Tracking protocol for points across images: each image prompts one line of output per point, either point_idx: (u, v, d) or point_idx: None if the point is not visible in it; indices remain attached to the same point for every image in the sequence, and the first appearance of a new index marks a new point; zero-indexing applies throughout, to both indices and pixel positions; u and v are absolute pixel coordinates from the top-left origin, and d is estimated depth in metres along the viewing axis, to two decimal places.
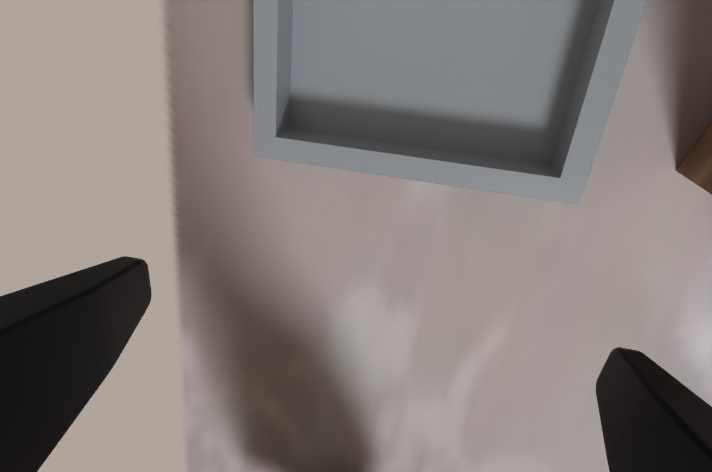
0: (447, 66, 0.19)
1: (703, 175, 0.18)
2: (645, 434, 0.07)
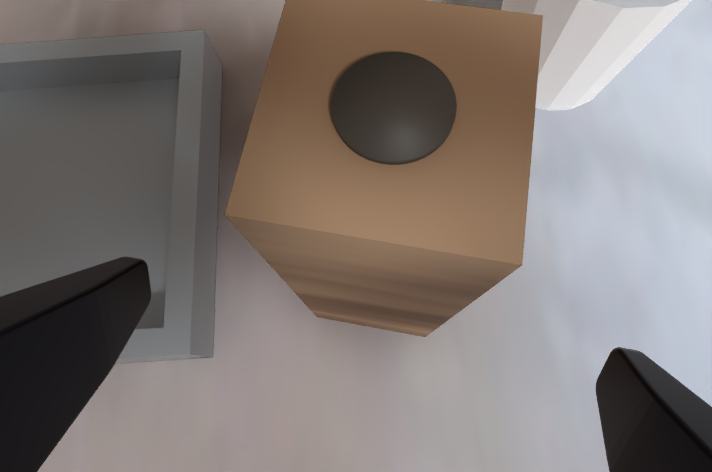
0: (67, 255, 0.19)
1: None
2: (645, 434, 0.07)
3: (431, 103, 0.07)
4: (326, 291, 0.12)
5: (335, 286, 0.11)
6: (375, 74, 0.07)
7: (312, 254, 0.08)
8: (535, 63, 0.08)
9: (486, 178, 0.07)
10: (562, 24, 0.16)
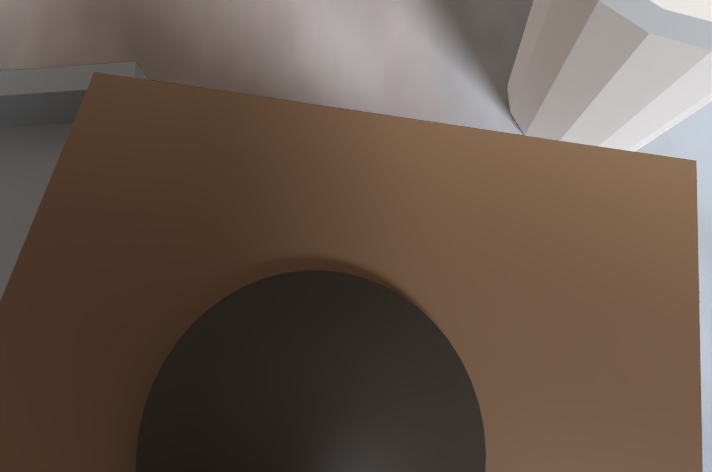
0: None
1: None
2: None
3: (414, 442, 0.03)
4: None
5: None
6: (264, 342, 0.03)
7: None
8: (691, 303, 0.03)
9: None
10: (614, 67, 0.12)
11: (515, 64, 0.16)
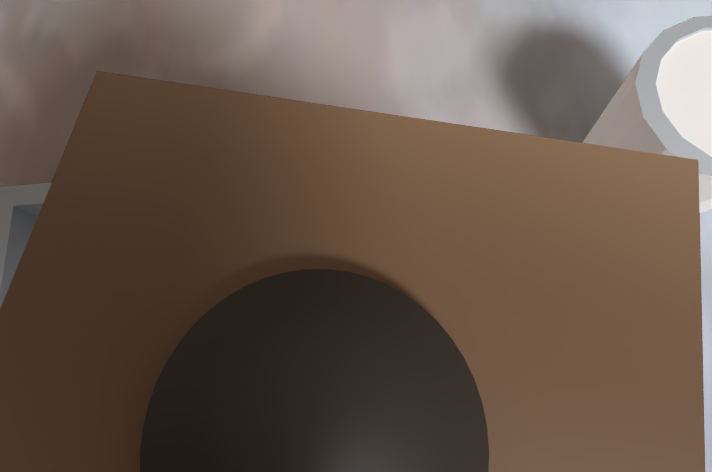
0: None
1: None
2: None
3: (415, 440, 0.03)
4: None
5: None
6: (268, 341, 0.03)
7: None
8: (693, 302, 0.03)
9: None
10: None
11: None
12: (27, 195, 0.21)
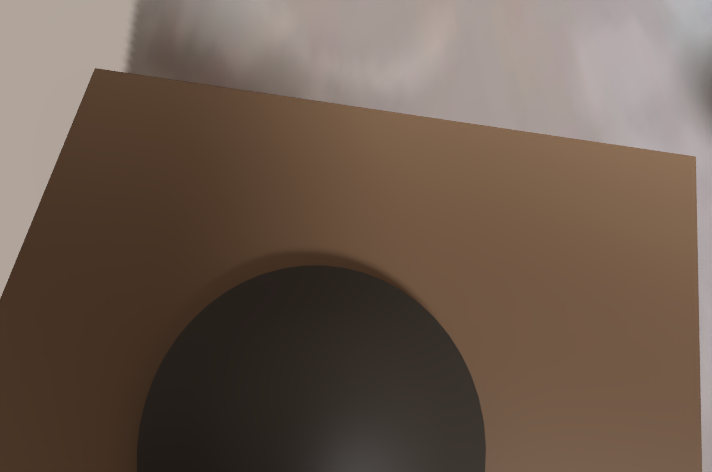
0: None
1: None
2: None
3: (412, 437, 0.03)
4: None
5: None
6: (264, 337, 0.03)
7: None
8: (690, 298, 0.03)
9: None
10: None
11: None
12: None
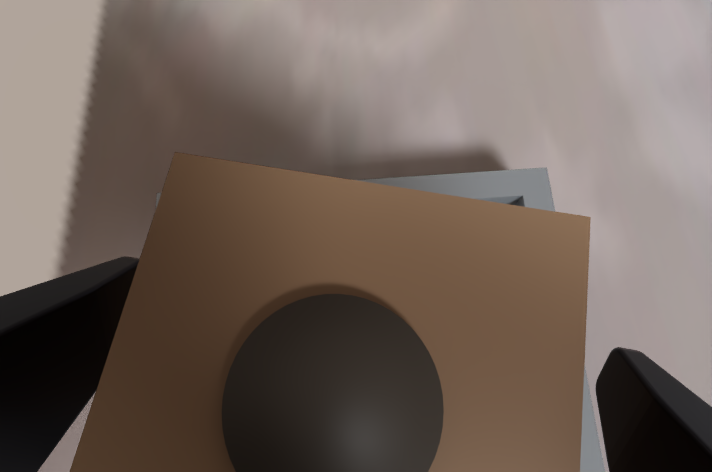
0: None
1: None
2: (645, 434, 0.07)
3: (397, 405, 0.04)
4: None
5: None
6: (301, 341, 0.04)
7: None
8: (580, 314, 0.04)
9: None
10: None
11: None
12: None
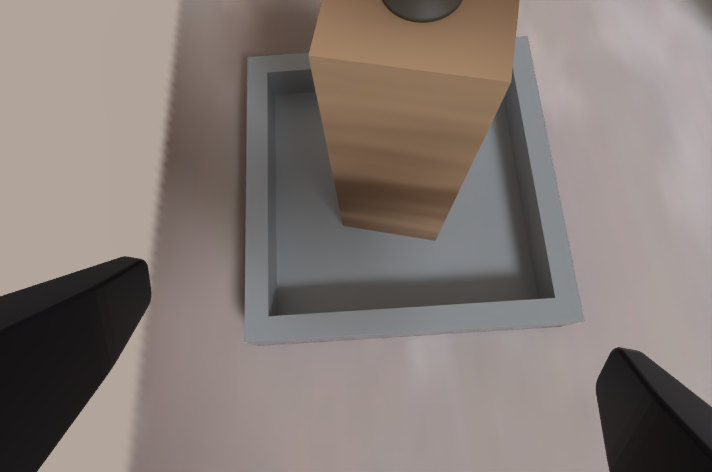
0: None
1: None
2: (645, 434, 0.07)
3: None
4: (361, 167, 0.15)
5: (370, 155, 0.14)
6: None
7: (362, 102, 0.12)
8: None
9: (487, 29, 0.10)
10: None
11: None
12: (279, 63, 0.23)
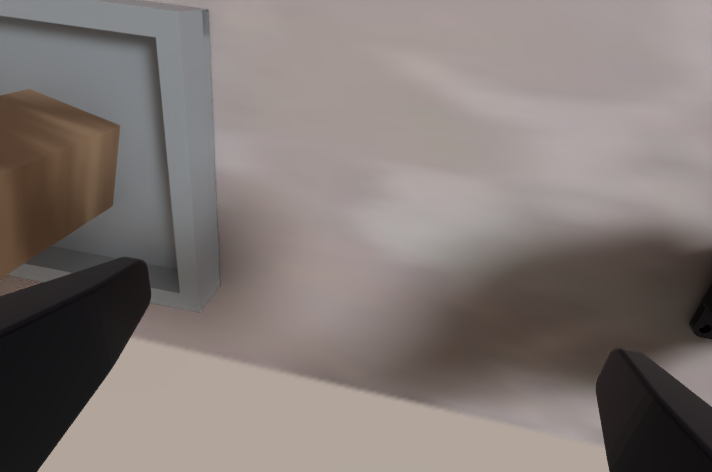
0: None
1: None
2: (645, 434, 0.07)
3: None
4: None
5: None
6: None
7: None
8: None
9: None
10: None
11: None
12: None
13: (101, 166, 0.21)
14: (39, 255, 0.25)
